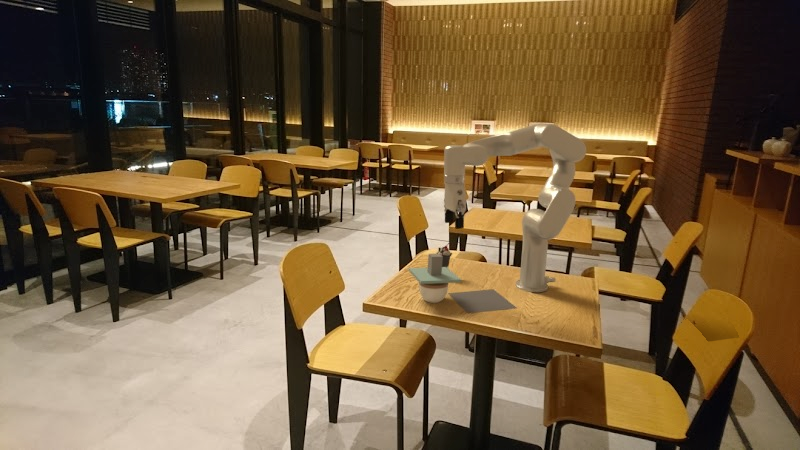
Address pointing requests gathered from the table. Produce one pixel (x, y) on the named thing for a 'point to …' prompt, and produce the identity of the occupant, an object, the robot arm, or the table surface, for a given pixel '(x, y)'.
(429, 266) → the lid
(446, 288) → the lidded jar
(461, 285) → the table surface
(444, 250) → the sundae
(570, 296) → the table surface
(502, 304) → the mat
